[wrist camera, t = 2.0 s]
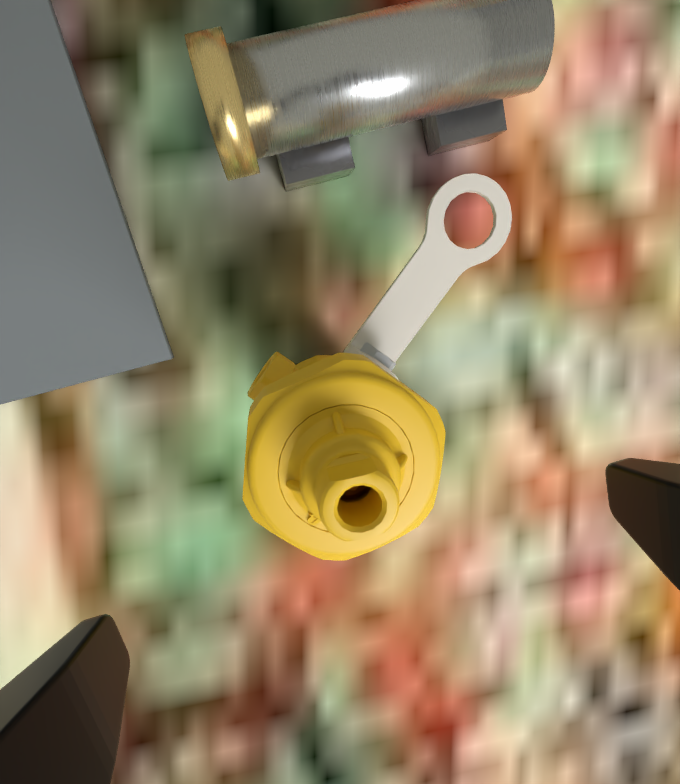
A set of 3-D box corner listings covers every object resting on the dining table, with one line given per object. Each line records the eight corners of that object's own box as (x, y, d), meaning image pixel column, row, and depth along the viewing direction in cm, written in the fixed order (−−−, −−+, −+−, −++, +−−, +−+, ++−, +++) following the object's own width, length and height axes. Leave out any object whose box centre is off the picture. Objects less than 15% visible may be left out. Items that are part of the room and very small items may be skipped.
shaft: (476, 6, 17) (551, -93, 13) (496, 138, 19) (571, 93, 14) (199, 70, 17) (170, -9, 12) (238, 203, 18) (224, 179, 13)
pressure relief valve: (226, 406, 20) (180, 537, 10) (407, 149, 18) (557, 11, 9) (337, 476, 21) (390, 652, 11) (513, 241, 20) (746, 212, 10)
